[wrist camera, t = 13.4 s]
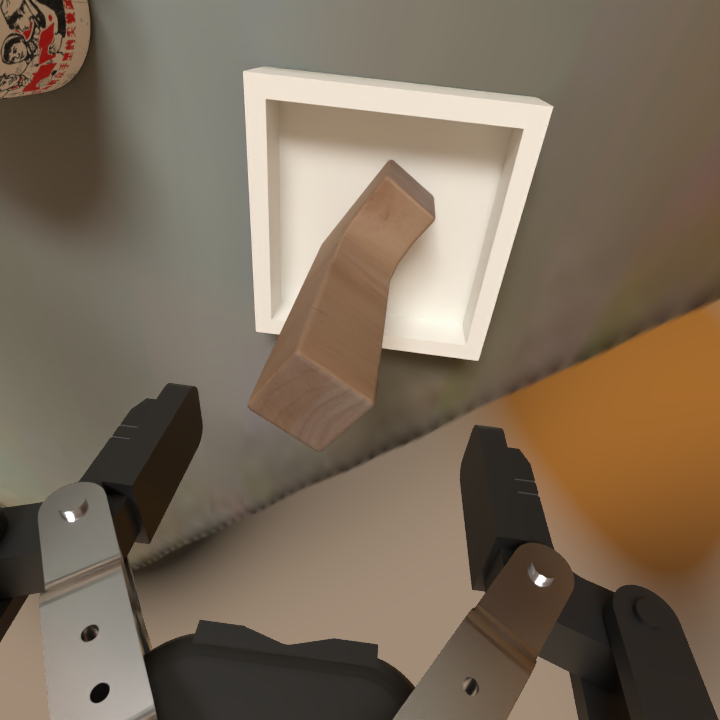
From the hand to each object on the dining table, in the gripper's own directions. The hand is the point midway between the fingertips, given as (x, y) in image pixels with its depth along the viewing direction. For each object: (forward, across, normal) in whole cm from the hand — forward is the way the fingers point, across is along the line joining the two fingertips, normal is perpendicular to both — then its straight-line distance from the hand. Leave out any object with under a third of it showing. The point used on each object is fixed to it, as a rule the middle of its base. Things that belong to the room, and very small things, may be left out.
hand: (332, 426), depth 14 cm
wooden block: (+17, 0, 0) cm, 17 cm away
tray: (+18, -1, 0) cm, 18 cm away
